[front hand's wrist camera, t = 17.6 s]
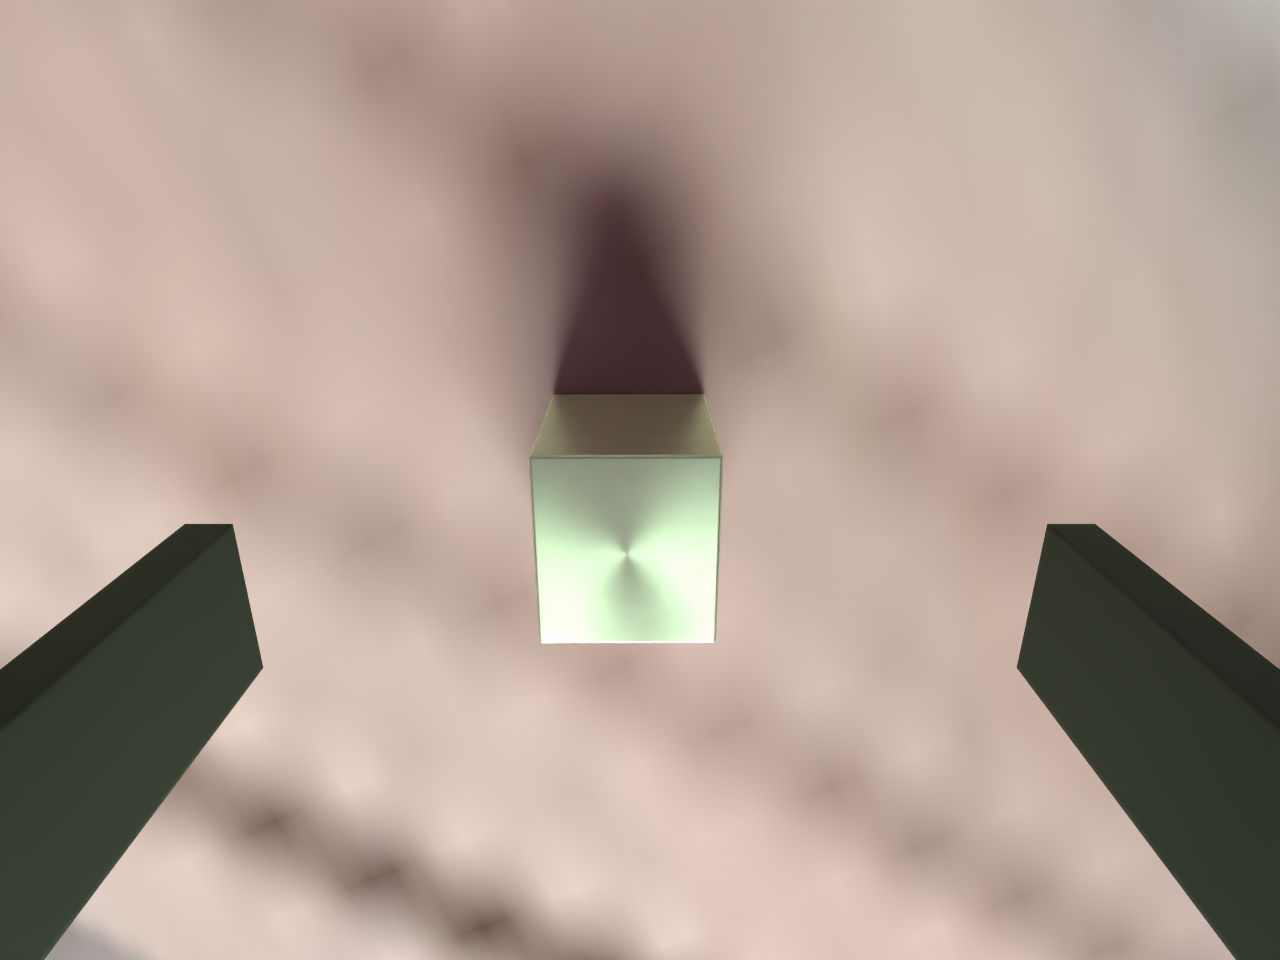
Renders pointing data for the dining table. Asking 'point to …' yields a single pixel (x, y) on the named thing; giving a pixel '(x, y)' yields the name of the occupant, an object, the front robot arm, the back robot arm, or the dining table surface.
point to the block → (626, 519)
